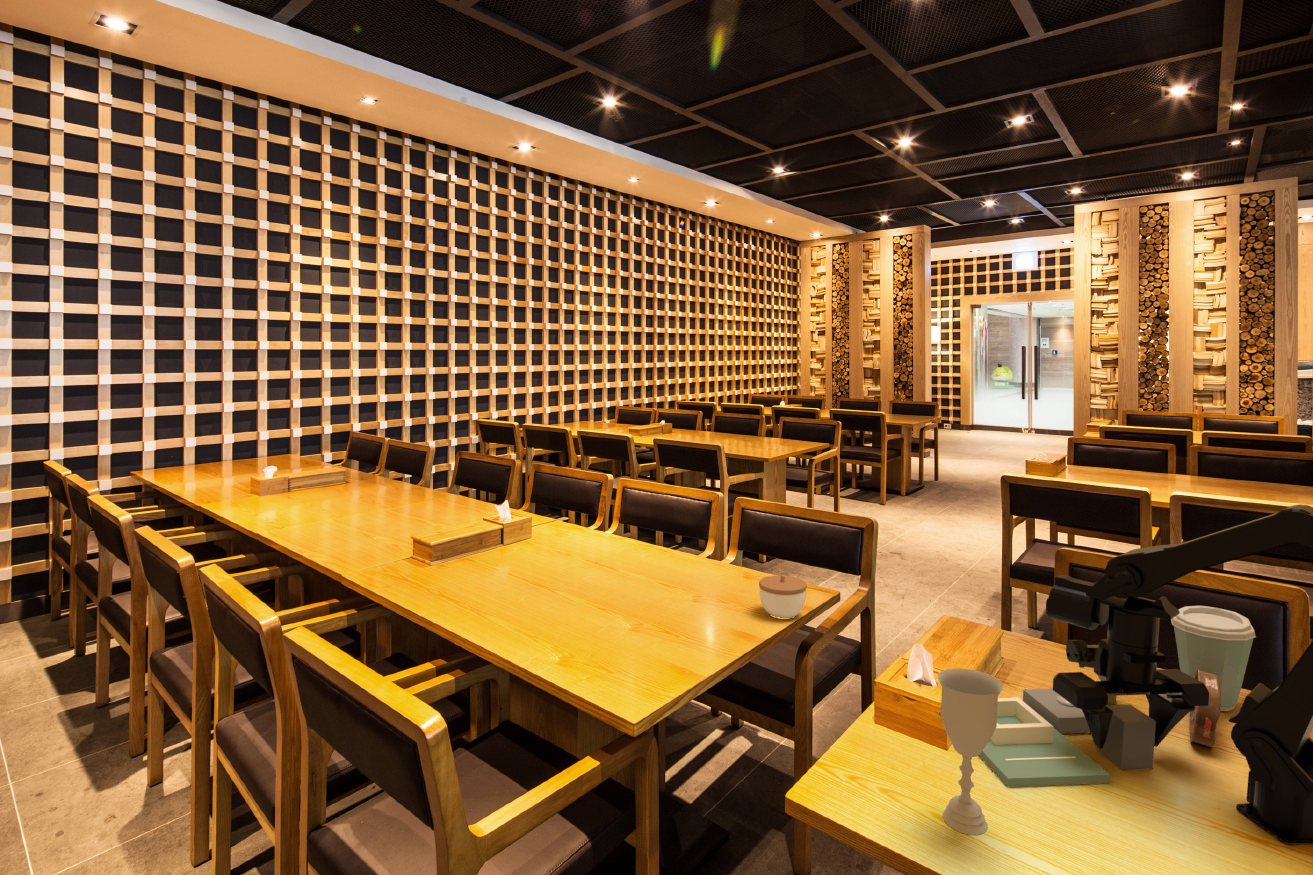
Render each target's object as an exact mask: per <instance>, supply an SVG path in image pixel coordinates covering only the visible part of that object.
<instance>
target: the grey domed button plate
mask: <svg viewBox="0 0 1313 875" xmlns="http://www.w3.org/2000/svg"><path fill="white" fill-rule="evenodd" d="M1022 701H1023V702H1025V703H1026V704H1027V705H1028V706H1029V707H1031V708H1032V709H1033V710H1034V711H1035V712H1037V713H1038V714H1039V715H1040V716H1041V717H1043V718H1044V719H1045V720H1046V721H1047V722H1049V723H1050V724H1051V725H1052V726H1053V728H1055V729H1056V730H1057V731H1058V732H1059V733H1061V734H1062V735H1063V734H1083V733H1084V734H1085V733H1086V734H1087V733H1090V734H1091V732H1090V729H1089V727H1088V724H1087V721H1086V718H1085V716H1084V714H1083V712H1082V709H1079V708H1076V707H1075V706H1074V705H1072V704H1071V703H1070V702H1068V701H1067V700H1065V699H1064V698H1063V697H1061V696H1060V695H1059V694H1057V693H1056V692H1055V691H1053V688H1031V689H1030V688H1028V689H1027V688H1026V689H1023V692H1022Z"/></svg>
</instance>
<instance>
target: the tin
mask: <svg viewBox="0 0 1313 875" xmlns="http://www.w3.org/2000/svg"><path fill="white" fill-rule="evenodd" d="M1195 679H1197V680H1199V681H1200V682H1202V683H1204V684H1205V686H1206V687H1207V689H1208V691H1209V705H1208V706H1194V707H1195V711H1191V712H1189V742H1191V743H1196V744H1199V745H1203V746H1206V747H1209V748H1213V747H1214V746H1215V744H1216V740H1217V737H1216V731H1217V725H1218V722H1219V719H1220V714H1221V711H1220V709H1221V690H1220V682H1219V677H1218V676H1217V675H1214V674H1211V673H1207V672H1204V671H1200V670H1199V669H1198V670H1197V671H1196V676H1195Z"/></svg>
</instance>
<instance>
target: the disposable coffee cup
mask: <svg viewBox="0 0 1313 875" xmlns="http://www.w3.org/2000/svg"><path fill="white" fill-rule="evenodd" d="M1177 609H1178V608H1177ZM1178 610H1179V611H1180V614H1179V615H1177V616H1175V617H1174V618H1172V619H1171V620H1170V621H1171V625H1172V626H1173V628H1174V635H1175V642H1176V648H1177V654H1178V656H1177V658H1178V664H1179V670H1180V671H1182V672H1184V673H1186V674H1187V675H1189V676H1191V677H1193V678H1195V676H1196V671H1197V670H1198V669H1199V670H1200V671H1204V672H1207V673H1211V674H1214V675H1217V676H1218V677H1219V682H1220V690H1221V709H1220V712H1230V711H1233V710H1235V707H1236V706H1238V702H1239V697H1240V695H1241V690H1242V686H1243V682H1244V678H1245V674H1246V670H1247V665H1248V662H1249V657H1250V655H1251V654H1250V653H1251V648H1252V646H1253V642H1254V638H1257V636H1256V632H1255V629H1254V627H1253V626H1252V624H1251V622H1250V620H1249V618H1248V617H1246V616H1244V615H1242V614H1240V613H1238V612H1236V611H1233V610H1228V609H1225V608H1224V609H1223V608H1219V607H1216V606H1215V607H1213V606H1206V605H1189V606H1187V605H1186V606H1183V607H1181V608H1179V609H1178Z"/></svg>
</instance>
